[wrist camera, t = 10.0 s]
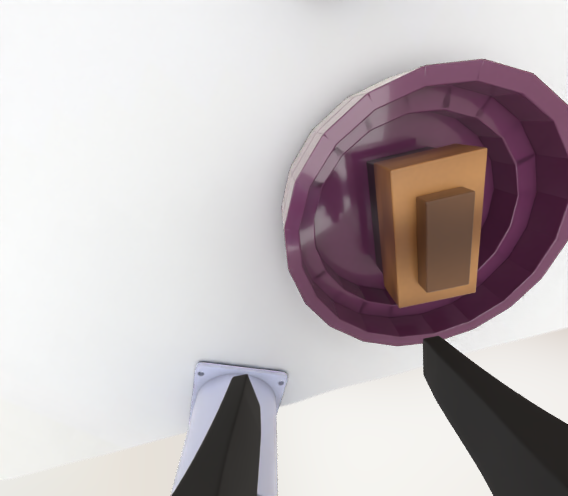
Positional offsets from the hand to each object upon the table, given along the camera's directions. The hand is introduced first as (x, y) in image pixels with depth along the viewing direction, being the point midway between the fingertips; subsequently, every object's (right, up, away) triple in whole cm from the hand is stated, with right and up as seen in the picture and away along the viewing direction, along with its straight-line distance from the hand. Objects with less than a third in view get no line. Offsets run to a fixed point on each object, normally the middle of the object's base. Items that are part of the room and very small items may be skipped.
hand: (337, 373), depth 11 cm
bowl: (+5, +8, +8) cm, 12 cm away
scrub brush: (+5, +8, +7) cm, 12 cm away
